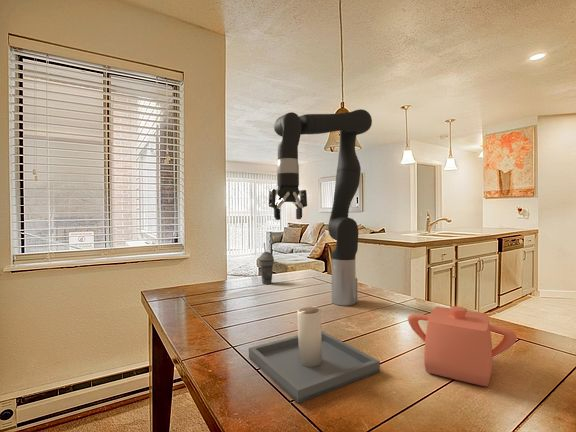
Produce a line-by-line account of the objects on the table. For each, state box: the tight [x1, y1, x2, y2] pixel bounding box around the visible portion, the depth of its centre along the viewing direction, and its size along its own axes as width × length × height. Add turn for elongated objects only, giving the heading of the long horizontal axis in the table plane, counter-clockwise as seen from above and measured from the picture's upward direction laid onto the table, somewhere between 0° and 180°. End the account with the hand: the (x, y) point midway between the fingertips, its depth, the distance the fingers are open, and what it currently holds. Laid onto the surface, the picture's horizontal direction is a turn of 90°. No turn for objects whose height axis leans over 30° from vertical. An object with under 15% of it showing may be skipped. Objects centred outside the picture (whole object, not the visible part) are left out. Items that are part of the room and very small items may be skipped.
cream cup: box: [296, 306, 322, 367], centre depth 76 cm, size 6×6×12 cm
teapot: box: [407, 305, 518, 387], centre depth 76 cm, size 20×22×14 cm
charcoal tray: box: [248, 330, 381, 405], centre depth 76 cm, size 22×22×2 cm
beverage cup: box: [258, 242, 275, 285], centre depth 158 cm, size 7×7×20 cm
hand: (288, 219), depth 112 cm, fingers open, 8 cm apart
